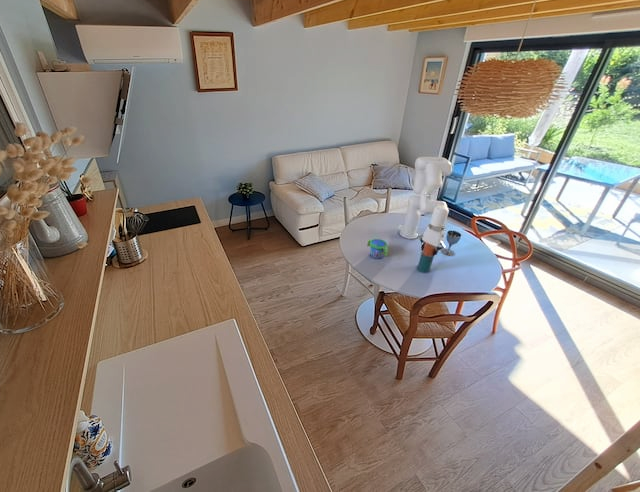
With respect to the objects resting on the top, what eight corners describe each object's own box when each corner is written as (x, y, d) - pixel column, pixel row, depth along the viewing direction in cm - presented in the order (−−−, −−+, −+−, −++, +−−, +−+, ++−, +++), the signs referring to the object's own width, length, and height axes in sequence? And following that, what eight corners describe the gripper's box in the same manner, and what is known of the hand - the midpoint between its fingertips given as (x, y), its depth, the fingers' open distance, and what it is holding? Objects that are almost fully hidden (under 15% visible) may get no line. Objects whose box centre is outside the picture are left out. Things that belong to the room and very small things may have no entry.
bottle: (415, 268, 178) (421, 247, 170) (421, 264, 182) (427, 243, 174) (425, 274, 173) (432, 252, 166) (431, 269, 177) (438, 248, 169)
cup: (420, 253, 172) (422, 244, 169) (425, 249, 175) (428, 241, 173) (430, 258, 168) (433, 249, 165) (435, 254, 171) (438, 245, 168)
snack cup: (362, 251, 195) (364, 239, 190) (374, 247, 199) (376, 235, 194) (378, 264, 182) (380, 251, 177) (390, 259, 186) (393, 246, 181)
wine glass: (456, 256, 189) (463, 237, 181) (443, 255, 190) (449, 236, 183) (452, 249, 195) (458, 231, 188) (439, 248, 197) (445, 230, 189)
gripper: (454, 230, 158) (445, 256, 167) (425, 219, 170) (418, 243, 179) (448, 235, 154) (439, 261, 163) (418, 222, 166) (411, 248, 175)
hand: (428, 252), depth 171 cm, fingers closed on cup, 6 cm apart
